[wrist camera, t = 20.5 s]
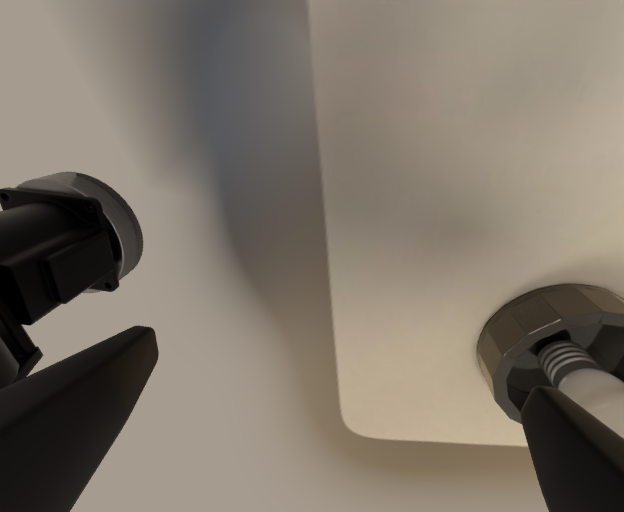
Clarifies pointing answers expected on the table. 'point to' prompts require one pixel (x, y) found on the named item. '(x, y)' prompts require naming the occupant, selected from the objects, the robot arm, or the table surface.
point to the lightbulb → (584, 382)
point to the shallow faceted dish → (548, 338)
